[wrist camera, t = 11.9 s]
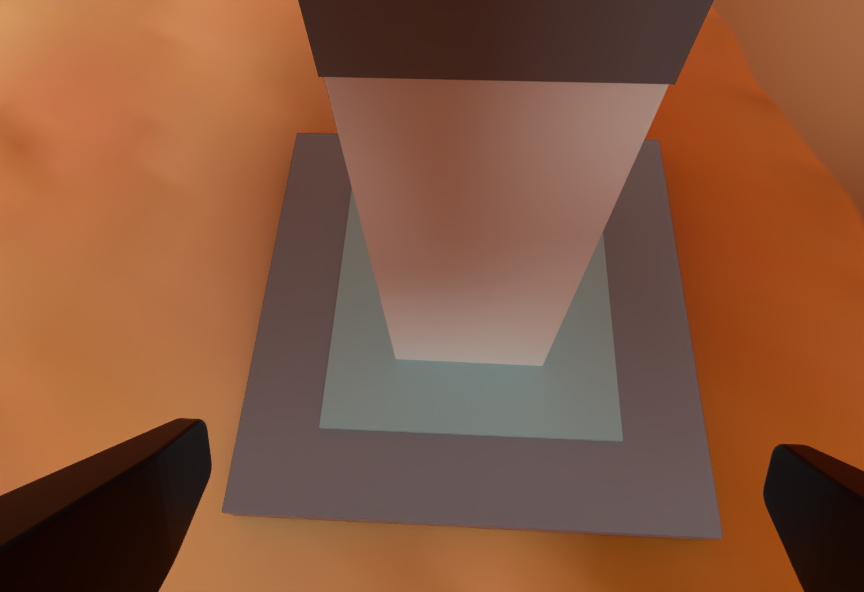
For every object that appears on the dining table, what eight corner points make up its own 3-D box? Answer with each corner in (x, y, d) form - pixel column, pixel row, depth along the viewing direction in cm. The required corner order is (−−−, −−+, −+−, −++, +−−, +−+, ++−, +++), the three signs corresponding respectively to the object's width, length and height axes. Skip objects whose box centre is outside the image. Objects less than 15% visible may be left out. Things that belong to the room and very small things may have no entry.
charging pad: (708, 539, 16) (725, 538, 15) (234, 515, 17) (219, 511, 16) (650, 157, 23) (660, 137, 21) (302, 150, 23) (296, 130, 22)
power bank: (544, 367, 18) (729, -34, 6) (393, 360, 18) (288, -39, 6) (540, 238, 20) (672, -249, 8) (405, 233, 20) (342, -246, 8)
